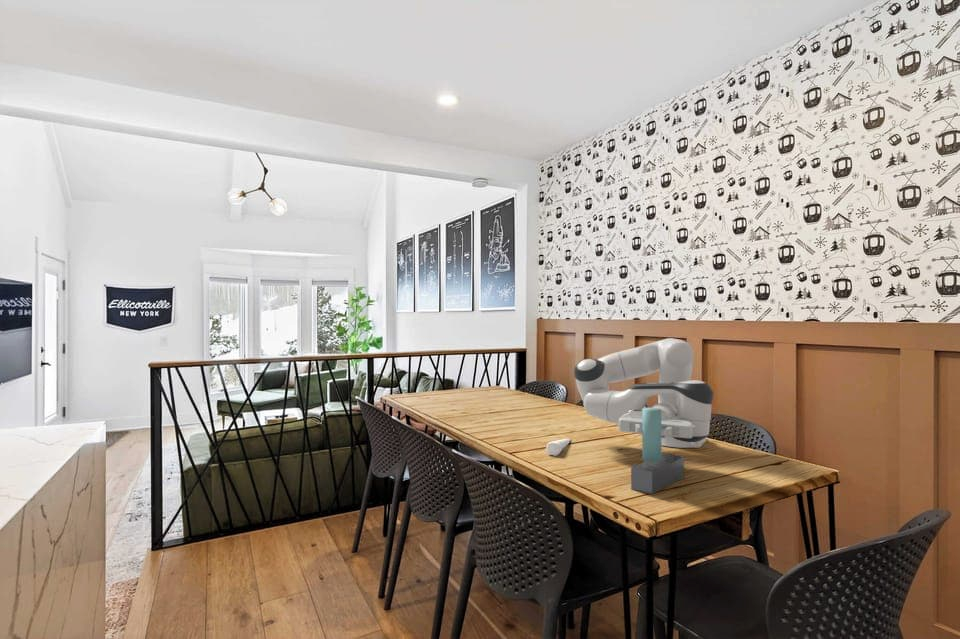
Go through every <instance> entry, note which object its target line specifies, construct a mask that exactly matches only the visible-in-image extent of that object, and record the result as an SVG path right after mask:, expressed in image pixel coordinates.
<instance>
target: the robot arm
mask: <svg viewBox="0 0 960 639" xmlns="http://www.w3.org/2000/svg"><path fill="white" fill-rule="evenodd" d="M694 353H695V352H694V350H693V348H692V346H691V345H690V343H689V342H687V341H685V340H682V339H677V338H672V337H668V338H665V339H664V338H663V339H662V340H661V339H660V340H657V341H653V342H650V343H646V344H644V345H641V346H640V345H639V346H636V347H633V348H628V349H624V350H620V351H618V352H617V351H616V352H613V353H609V354H607V355H603V356H601V357H600V358H598V359H596V358H589V357H588V358H585V359H584V358H583V359H581V360H580V361H578V362H577V363H576V364H575V365H574V367H573V369H574V370H573V372H574V373H573V374H574V375H573V376H574V378H575V383H576V386H577V387H576V388H577V391H578V392H579V395H580V397H581V399H582V404H583V408H584V410H585V412H586V413H587V414H588V415H589V416H591V417H593V418H594V419H598V420H601V421H604V422H608V423H610V424H611V423H612V424H616V425H618V430H619V431H620V432H622V433H623V432H624V433H632V434H637V435H642V408H645V406H646V404H647V402H648V400H649V399H650V398H651V397H652V396H657V398H658V399H657V400H658V402H657V403H656V404H654V405H653V406H651V408H658V409H661V446H664V447H669V448H670V447H671V448H679V449H680V448H681V449H682V448H684V449H685V448H686V449H687V448H694V449H695V448H696V449H699V448H701V447H702V446H703V445H704V444H705V443H706V441H707V440H708V438H707V437H708V436H709V435H710V428H711V427H710V425H711V424H710V423H711V419H712V418H711V416H712V404H713V401H714V396H715V392H714V390H713V389H712V388H711V387H710V385H709V384H708V383H707V382H705V381H702V380H697V379H693V380H692V376H693V375H692V373H693V366H694V365H693V364H694V358H695V356H694ZM657 372H659V378H658V382H642V383H635V384H631V385H629V386H628V387H627V389H625V390H614V389H610V385H609V384H612V383H618V382H623V381H627V380H628V381H629V380H633V379H637V378H642V377H645V376H648V375H651V374H653V373H657Z"/></svg>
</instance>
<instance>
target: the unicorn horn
mask: <svg viewBox="0 0 960 639" xmlns="http://www.w3.org/2000/svg"><path fill="white" fill-rule="evenodd" d="M571 441H572V440H571V438H563V439H558V440H553V441H550V442H548V443H547V444H546V453H547V454H548V455H549V456H551V455H554V456H553V457H557V456H558V455H560V453H561V452H562V451H563V450H564V449H566V447H567V446H568V445H569V443H570V442H571Z"/></svg>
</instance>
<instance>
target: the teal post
mask: <svg viewBox="0 0 960 639" xmlns="http://www.w3.org/2000/svg"><path fill="white" fill-rule="evenodd" d="M641 435H642V436H641V442H642V444H641V448H642V449H641V450H642V451H641V452H642V454H641V455H642V457H641V459H642V460H643V462H644V461H648V462H660V461H661V454H662V445H661V409H658V408H652V407H644V408H642V434H641Z"/></svg>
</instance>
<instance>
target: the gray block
mask: <svg viewBox="0 0 960 639" xmlns="http://www.w3.org/2000/svg"><path fill="white" fill-rule="evenodd" d="M630 470H631V471H630V487H631V490H633V489H634V491H637V490H638V492H641V493H644V492H645V493H646V494H648V495H654V494H656V493H658V492H659V491H661V490H663V489H665V488H667V487H669V486H670V485H672V484H674V483H677V482H678V481H680V480H682V479H685V456H681V455H677V454H672V453H666V452H663V453H661V461H660V462H648V461H644V460H643V461H642V462H640V463H638V464H636V465H633V466H631V467H630ZM645 493H644V494H645Z"/></svg>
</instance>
